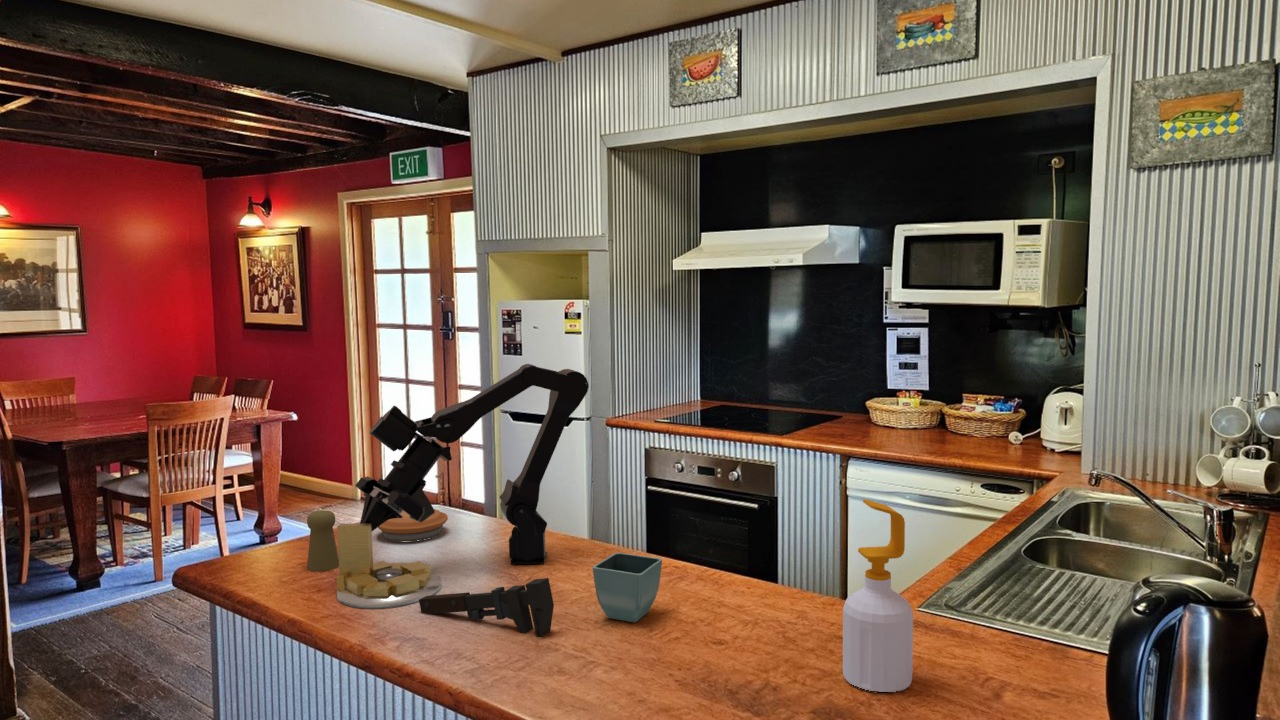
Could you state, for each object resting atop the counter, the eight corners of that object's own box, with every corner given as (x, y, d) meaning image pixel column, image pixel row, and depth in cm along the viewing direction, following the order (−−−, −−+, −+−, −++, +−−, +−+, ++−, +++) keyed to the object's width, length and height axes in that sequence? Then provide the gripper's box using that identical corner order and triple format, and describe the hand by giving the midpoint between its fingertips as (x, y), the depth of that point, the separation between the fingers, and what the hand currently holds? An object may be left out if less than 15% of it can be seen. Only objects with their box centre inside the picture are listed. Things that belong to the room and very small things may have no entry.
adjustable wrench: (436, 636, 146) (559, 630, 135) (425, 643, 144) (549, 637, 133) (426, 588, 146) (548, 577, 135) (415, 593, 144) (538, 583, 133)
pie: (457, 525, 197) (456, 504, 197) (435, 546, 182) (434, 523, 181) (392, 525, 199) (391, 503, 198) (364, 545, 183) (363, 522, 183)
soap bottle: (834, 666, 122) (834, 494, 119) (897, 663, 122) (898, 492, 120) (855, 696, 113) (856, 511, 111) (923, 692, 113) (925, 509, 111)
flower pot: (664, 610, 144) (663, 557, 143) (641, 630, 136) (641, 574, 135) (616, 603, 147) (615, 551, 146) (592, 621, 139) (591, 567, 138)
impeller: (450, 572, 164) (450, 555, 164) (428, 608, 146) (427, 589, 146) (356, 574, 164) (355, 557, 164) (321, 609, 146) (320, 590, 146)
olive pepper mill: (345, 561, 172) (342, 507, 171) (331, 571, 166) (328, 515, 165) (315, 561, 172) (313, 507, 172) (301, 571, 166) (298, 515, 166)
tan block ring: (439, 569, 162) (437, 514, 161) (415, 596, 148) (413, 536, 147) (356, 569, 163) (353, 514, 162) (325, 595, 149) (322, 536, 148)
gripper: (466, 499, 159) (413, 572, 153) (421, 482, 173) (371, 548, 167) (424, 464, 153) (367, 539, 147) (381, 450, 167) (328, 517, 162)
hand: (359, 536), depth 156 cm, fingers closed
